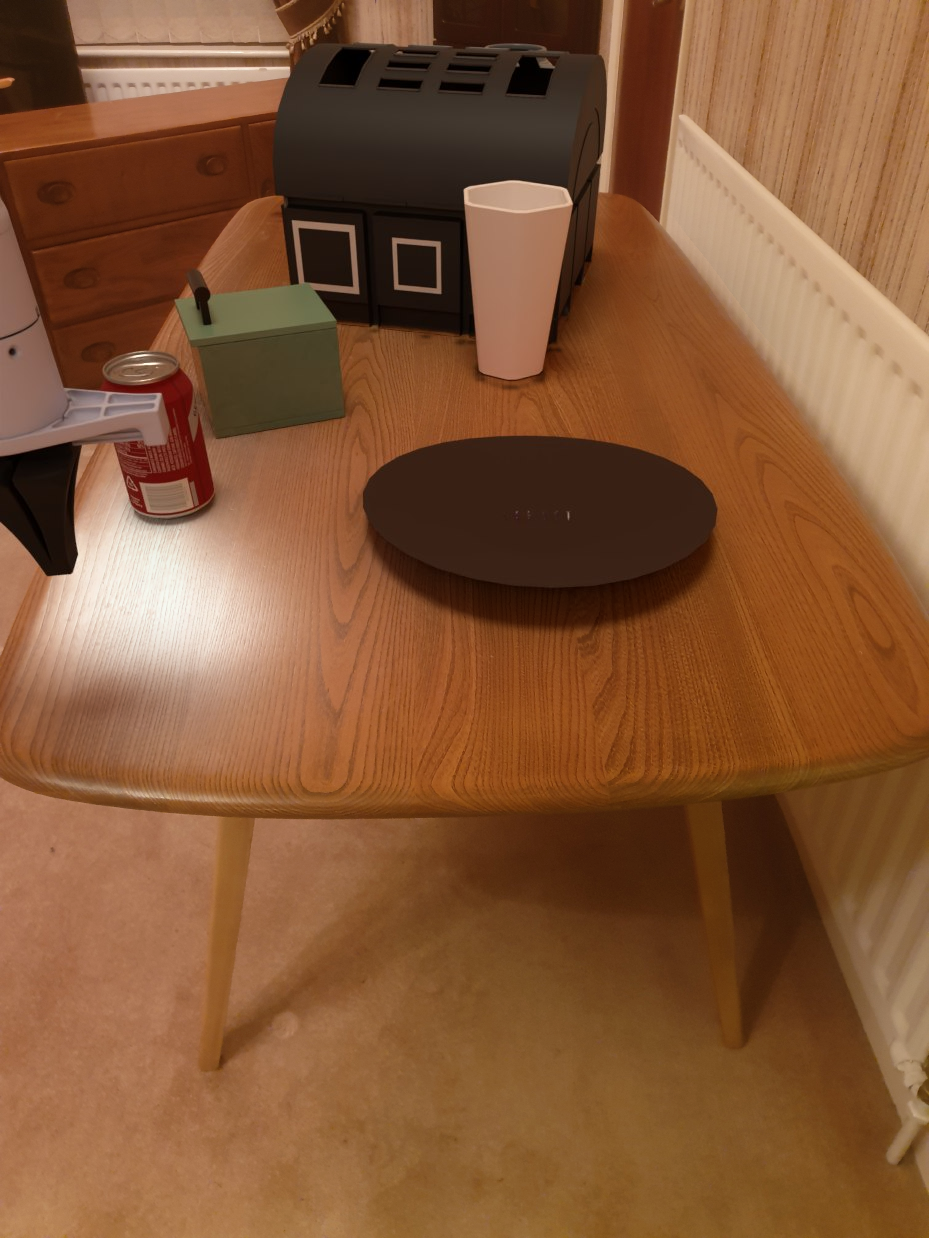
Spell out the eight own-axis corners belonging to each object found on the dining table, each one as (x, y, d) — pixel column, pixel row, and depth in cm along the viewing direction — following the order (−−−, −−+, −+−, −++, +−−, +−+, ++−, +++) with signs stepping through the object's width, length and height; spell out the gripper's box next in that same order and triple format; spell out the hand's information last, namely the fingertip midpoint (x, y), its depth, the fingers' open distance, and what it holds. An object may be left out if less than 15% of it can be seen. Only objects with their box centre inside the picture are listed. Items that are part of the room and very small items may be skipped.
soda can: (205, 525, 69) (173, 385, 62) (121, 524, 69) (79, 384, 62) (224, 481, 75) (197, 347, 67) (146, 480, 75) (110, 346, 67)
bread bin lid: (191, 347, 75) (181, 300, 72) (175, 306, 82) (166, 262, 79) (337, 327, 78) (333, 281, 76) (309, 290, 86) (305, 247, 83)
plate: (674, 436, 81) (681, 400, 79) (750, 630, 60) (762, 588, 58) (377, 435, 81) (375, 398, 79) (347, 628, 60) (342, 587, 57)
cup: (561, 388, 89) (577, 212, 78) (463, 388, 89) (465, 211, 78) (551, 345, 98) (564, 180, 87) (462, 345, 98) (463, 180, 87)
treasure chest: (554, 347, 97) (575, 78, 81) (290, 319, 103) (258, 63, 86) (592, 259, 121) (614, 37, 104) (375, 240, 127) (363, 27, 110)
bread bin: (216, 438, 80) (198, 347, 75) (199, 392, 88) (182, 306, 82) (345, 416, 84) (337, 328, 78) (318, 374, 91) (309, 290, 86)
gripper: (147, 283, 43) (201, 513, 52) (-167, 301, 41) (-56, 536, 50) (130, 338, 38) (192, 584, 46) (-232, 361, 36) (-96, 613, 45)
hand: (62, 564), depth 48 cm, fingers closed
